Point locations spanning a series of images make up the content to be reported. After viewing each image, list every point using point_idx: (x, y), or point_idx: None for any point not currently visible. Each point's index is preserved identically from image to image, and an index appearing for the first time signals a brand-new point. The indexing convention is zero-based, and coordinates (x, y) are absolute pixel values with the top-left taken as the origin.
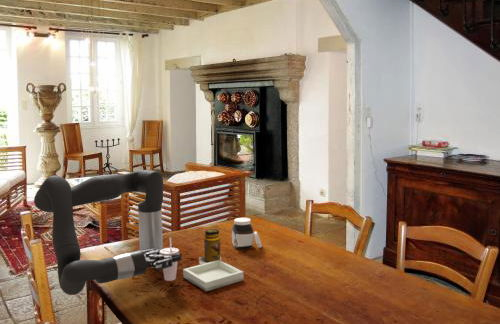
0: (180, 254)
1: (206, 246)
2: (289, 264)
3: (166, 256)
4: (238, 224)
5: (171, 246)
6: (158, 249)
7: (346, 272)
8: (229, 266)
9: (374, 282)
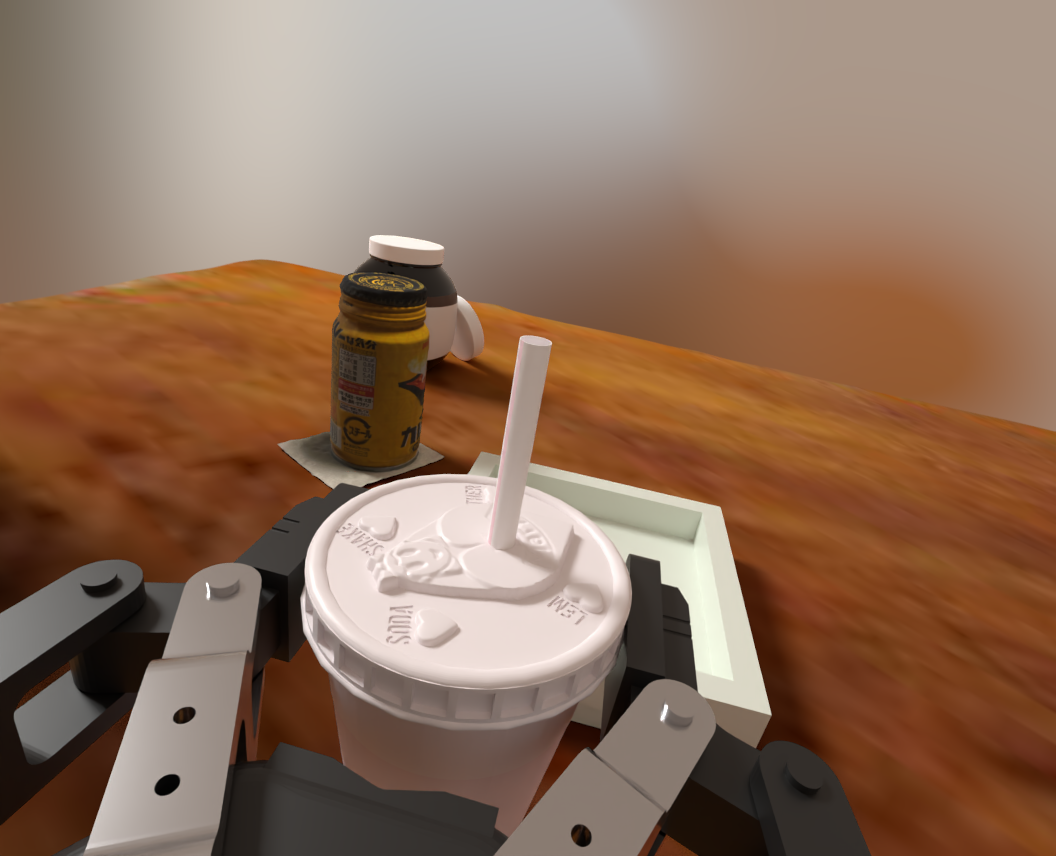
0: (657, 567)
1: (369, 381)
2: (667, 414)
3: (643, 741)
4: (408, 261)
5: (524, 484)
6: (228, 575)
7: (828, 416)
8: (603, 486)
9: (936, 437)
